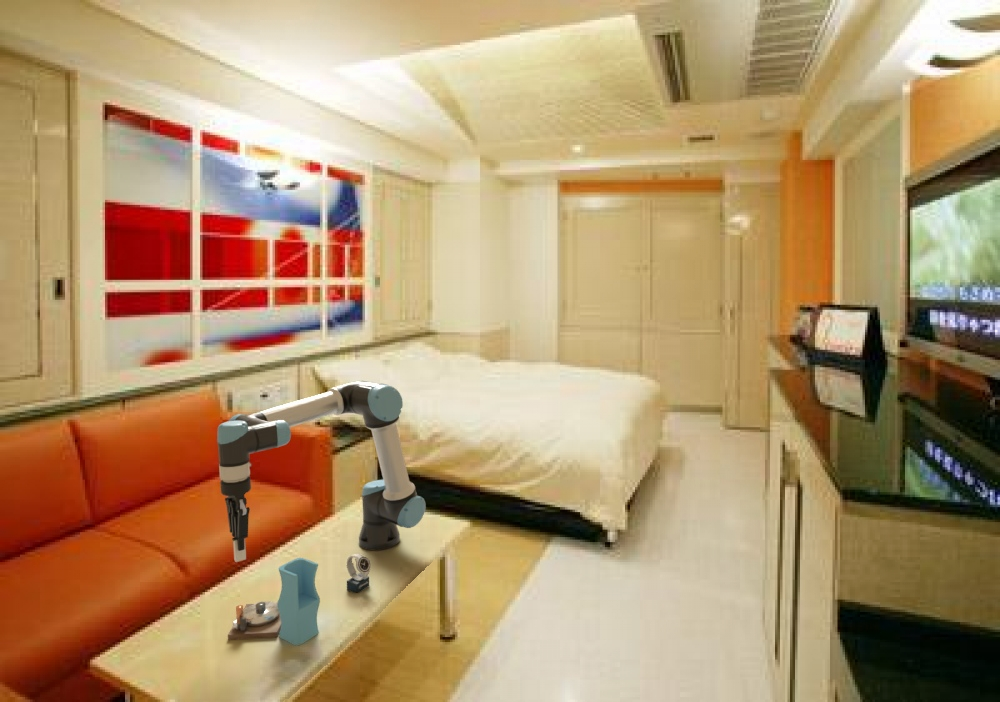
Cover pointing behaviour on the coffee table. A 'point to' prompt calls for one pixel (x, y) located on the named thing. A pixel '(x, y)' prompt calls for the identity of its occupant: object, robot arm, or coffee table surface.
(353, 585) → the watch
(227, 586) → the coffee table surface
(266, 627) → the base board
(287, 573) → the blue tall hollow container
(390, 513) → the robot arm
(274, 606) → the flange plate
